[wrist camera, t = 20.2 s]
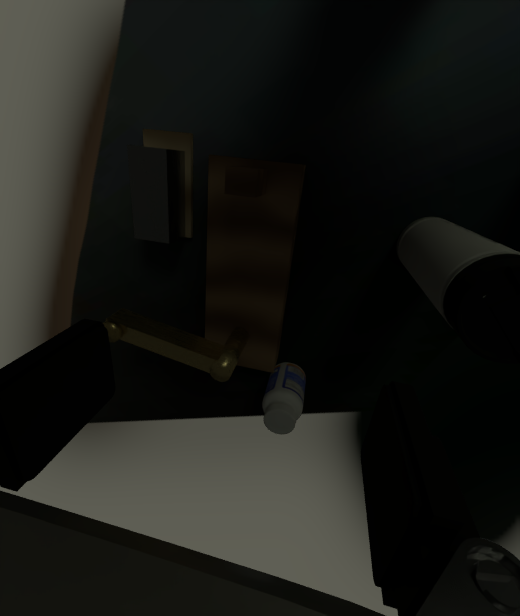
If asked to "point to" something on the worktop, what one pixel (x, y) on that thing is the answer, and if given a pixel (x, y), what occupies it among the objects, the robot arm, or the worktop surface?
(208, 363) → the lever
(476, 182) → the worktop surface
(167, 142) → the cork pad
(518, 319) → the travel mug
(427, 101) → the worktop surface
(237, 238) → the plane body
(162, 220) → the black rectangular block
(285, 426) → the pill bottle
